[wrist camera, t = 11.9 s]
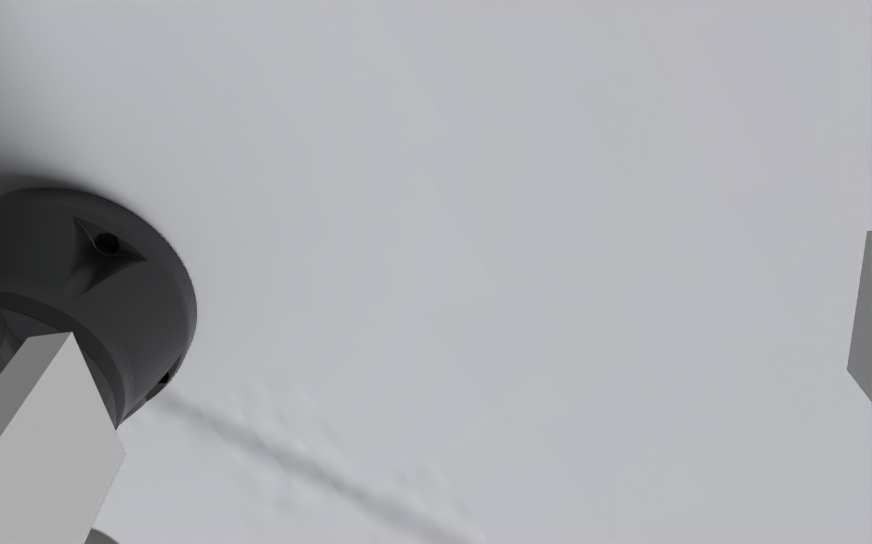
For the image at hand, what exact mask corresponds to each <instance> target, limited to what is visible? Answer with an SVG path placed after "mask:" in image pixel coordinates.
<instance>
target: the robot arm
mask: <svg viewBox="0 0 872 544" xmlns="http://www.w3.org/2000/svg"><path fill="white" fill-rule="evenodd" d="M196 323H197V305H196V298H195V293H194V290H193V286H192V283H191V281H190V278H189V276H188V274H187V271H186V269H185V268H184V266H183V264H182V262H181V261H180V259H179V258H178V256H177V255H176V253H175V252H174V251H173V249H172V248H171V247H170V246H169V245H168V243H167V242H166V241H165V240H164V239H163V238H162V237H161V236H160V235H159V234H158V233H157V232H156V231H155V230H154V229H152V228H151V227H150V226H149V225H148V224H146V223H145V222H144V221H142V220H141V219H139V218H138V217H136V216H135V215H133V214H132V213H130V212H128V211H127V210H125V209H123V208H121V207H119V206H117V205H115V204H113V203H111V202H109V201H106V200H104V199H101V198H98V197H95V196H92V195H89V194H85V193H81V192H77V191H71V190H64V189H53V188H37V189H27V190H21V191H16V192H12V193H9V194H6V195H3V196H0V544H84V542H85V540H86V538H87V536H88V533H89V532H90V530H91V527H92V525H93V523H94V521H95V519H96V517H97V515H98V512H99V510H100V508H101V506H102V504H103V502H104V500H105V497H106V495H107V493H108V491H109V489H110V487H111V485H112V483H113V480H114V478H115V476H116V474H117V472H118V470H119V468H120V465H121V463H122V461H123V459H124V457H125V455H126V453H125V451H124V448H123V446H122V444H121V442H120V439H119V437H118V435H117V433H116V430H117V428H118V426H119V425H120V424H121V423H122V422H124V421H125V420H126V419H127V418H128V417H130V416H131V415H132V414H133V413H135V412H136V411H137V410H138V409H139V408H141V407H142V406H143V405H144V404H145V403H146V402H147V401H148V400H150V399H151V398H153V397H154V396H155V395H156V394H158V393H159V392H160V391H161V390H162V389H163V388H164V387H166V385H167V384H168V383H169V382H170V381H171V380H172V378H173V377H174V376H175V374H176V373H177V371H178V370H179V368H180V366H181V364H182V362H183V360H184V358H185V356H186V354H187V351H188V349H189V347H190V345H191V342H192V340H193V337H194V333H195V329H196ZM847 370H848V372H849V373H850V374H851V376H852V377H853V378H854V380H855V381H856V382H857V383H858V385H859V386H860V387H861V389H862V390H863V391H864V393H865V394H866V395H867V396H868V398H869V399H870V400H871V402H872V231H867V237H866V243H865V250H864V257H863V264H862V271H861V277H860V284H859V291H858V298H857V305H856V312H855V318H854V325H853V332H852V339H851V346H850V352H849V359H848V366H847Z"/></svg>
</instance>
